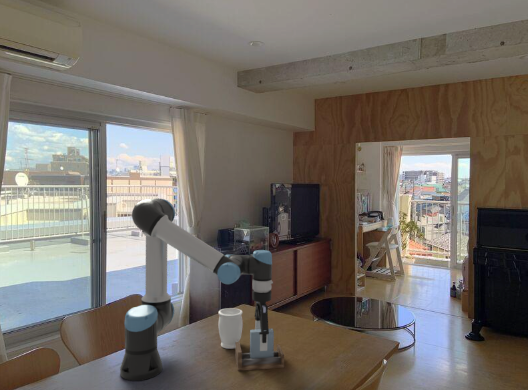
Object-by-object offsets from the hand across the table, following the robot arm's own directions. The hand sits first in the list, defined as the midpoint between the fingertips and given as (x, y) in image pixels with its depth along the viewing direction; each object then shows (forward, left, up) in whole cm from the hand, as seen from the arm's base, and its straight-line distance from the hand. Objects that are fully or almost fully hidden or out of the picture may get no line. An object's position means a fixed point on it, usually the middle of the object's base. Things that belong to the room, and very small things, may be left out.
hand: (260, 343), depth 156 cm
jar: (-11, +19, -8) cm, 23 cm away
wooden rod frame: (-1, 0, -8) cm, 8 cm away
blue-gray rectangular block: (0, 0, -7) cm, 7 cm away
